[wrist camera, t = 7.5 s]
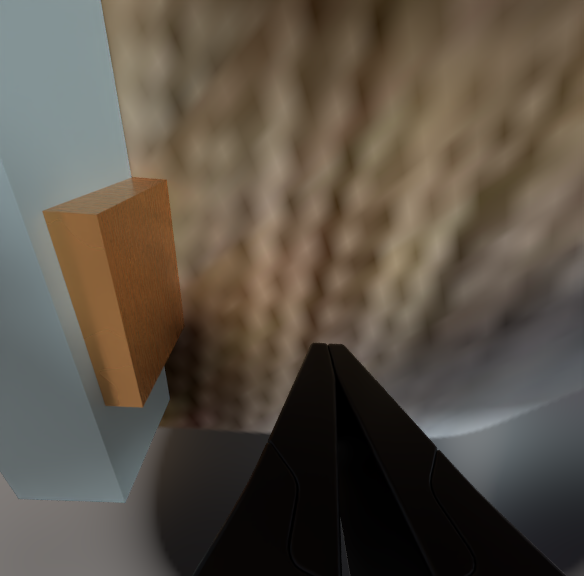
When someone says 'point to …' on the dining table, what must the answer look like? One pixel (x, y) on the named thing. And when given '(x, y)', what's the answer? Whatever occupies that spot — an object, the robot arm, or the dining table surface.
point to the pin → (121, 282)
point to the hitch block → (44, 263)
